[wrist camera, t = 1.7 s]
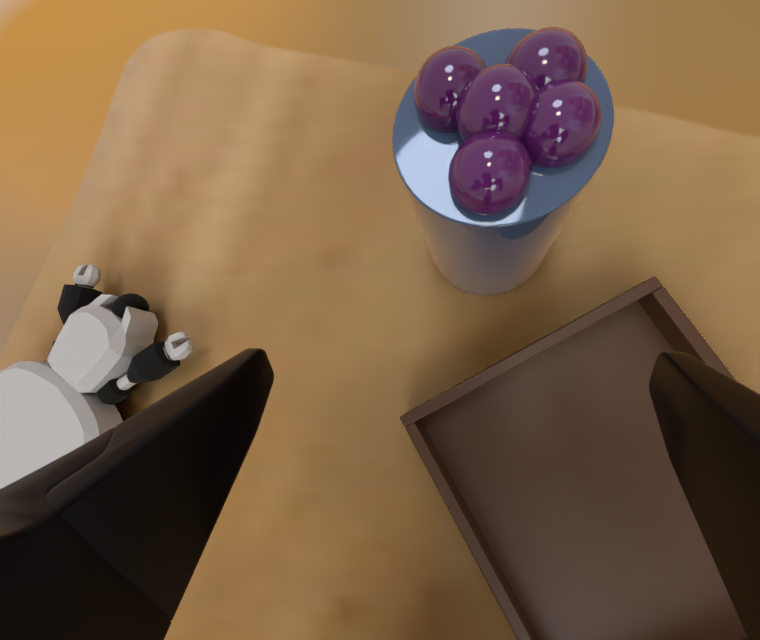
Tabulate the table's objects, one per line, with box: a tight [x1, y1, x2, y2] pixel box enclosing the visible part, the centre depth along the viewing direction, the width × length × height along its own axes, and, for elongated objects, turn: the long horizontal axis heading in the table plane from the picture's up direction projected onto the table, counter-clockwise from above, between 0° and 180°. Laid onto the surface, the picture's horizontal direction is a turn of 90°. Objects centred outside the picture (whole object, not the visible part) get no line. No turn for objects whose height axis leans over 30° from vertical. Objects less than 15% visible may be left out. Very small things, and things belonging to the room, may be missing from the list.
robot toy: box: [0, 264, 193, 489], centre depth 26 cm, size 12×4×15 cm
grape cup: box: [392, 27, 614, 295], centre depth 16 cm, size 7×7×13 cm
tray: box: [400, 276, 748, 640], centre depth 18 cm, size 16×14×2 cm
